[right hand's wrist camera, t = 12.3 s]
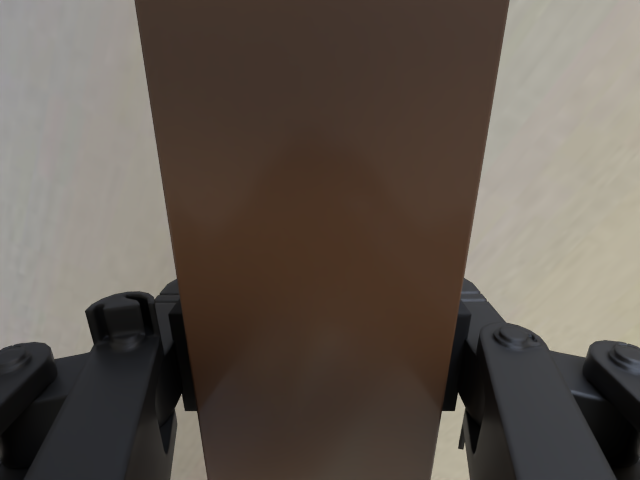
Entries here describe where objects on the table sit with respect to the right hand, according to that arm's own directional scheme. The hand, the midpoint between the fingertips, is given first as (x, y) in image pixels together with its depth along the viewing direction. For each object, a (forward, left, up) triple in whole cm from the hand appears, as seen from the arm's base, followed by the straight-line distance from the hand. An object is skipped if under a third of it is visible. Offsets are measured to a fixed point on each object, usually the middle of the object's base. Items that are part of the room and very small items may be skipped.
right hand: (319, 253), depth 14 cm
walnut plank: (+8, +7, 0) cm, 11 cm away
